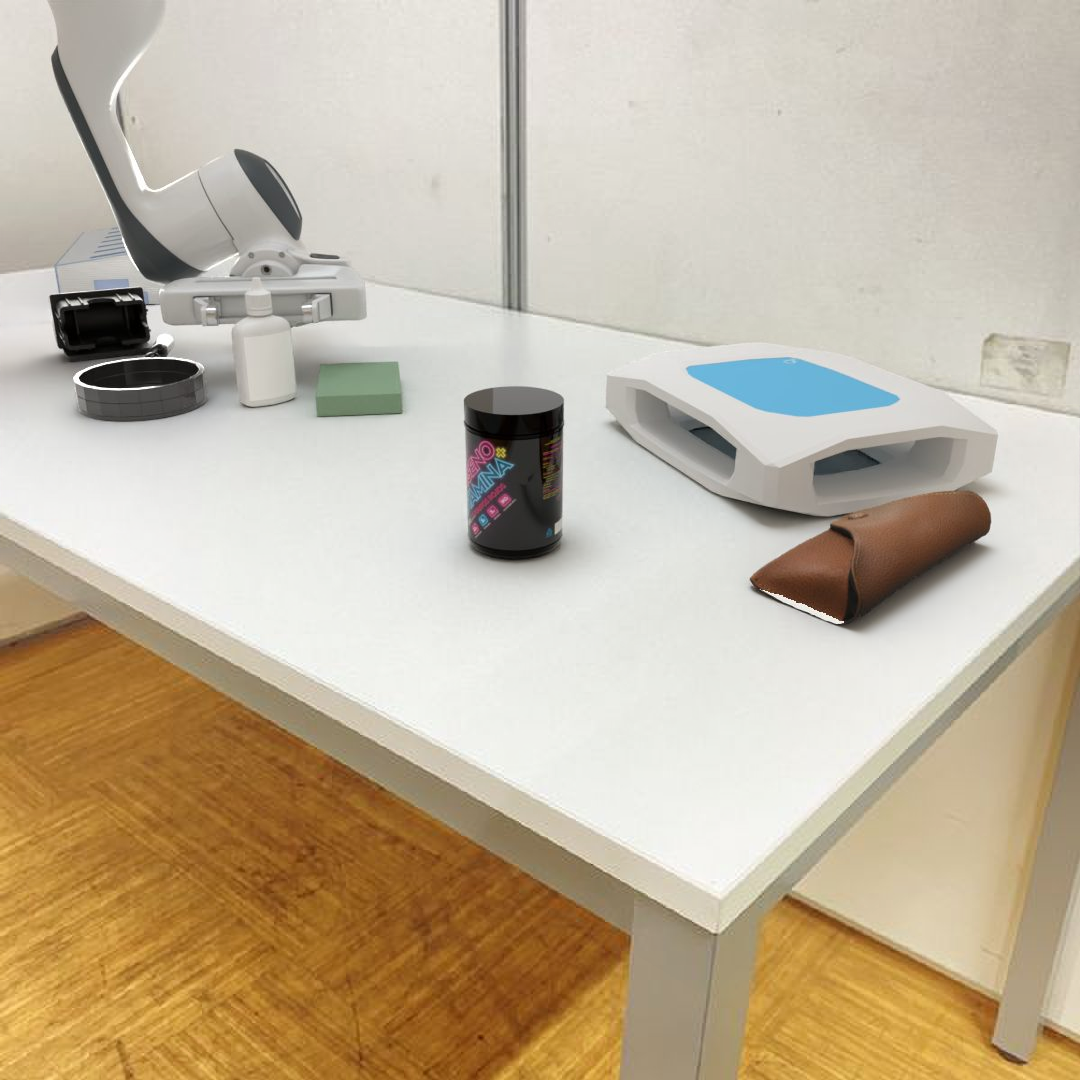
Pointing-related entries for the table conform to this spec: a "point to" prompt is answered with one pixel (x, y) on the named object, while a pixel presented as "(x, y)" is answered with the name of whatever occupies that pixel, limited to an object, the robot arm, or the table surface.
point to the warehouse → (102, 266)
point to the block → (358, 389)
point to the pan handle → (161, 347)
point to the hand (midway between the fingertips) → (259, 316)
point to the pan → (140, 389)
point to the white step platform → (798, 425)
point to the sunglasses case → (875, 552)
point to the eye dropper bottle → (263, 352)
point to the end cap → (100, 323)
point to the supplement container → (514, 470)
